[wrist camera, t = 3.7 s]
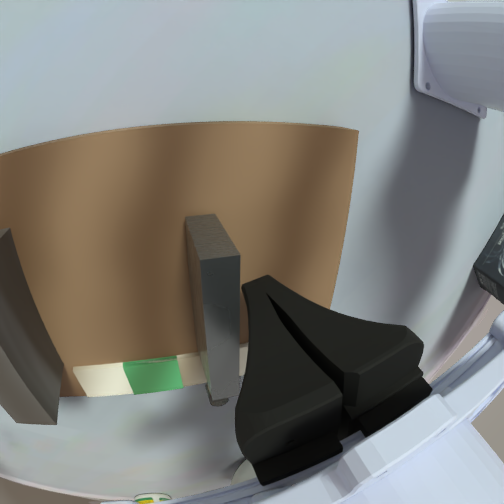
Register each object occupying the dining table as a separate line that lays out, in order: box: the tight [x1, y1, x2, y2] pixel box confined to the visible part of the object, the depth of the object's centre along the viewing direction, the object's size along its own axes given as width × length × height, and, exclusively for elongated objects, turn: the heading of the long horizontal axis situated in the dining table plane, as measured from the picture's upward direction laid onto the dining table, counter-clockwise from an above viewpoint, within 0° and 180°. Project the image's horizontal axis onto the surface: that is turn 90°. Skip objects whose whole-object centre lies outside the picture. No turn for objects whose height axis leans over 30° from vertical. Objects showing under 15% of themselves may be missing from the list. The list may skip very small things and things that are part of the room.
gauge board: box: [0, 121, 359, 425], centre depth 12 cm, size 18×14×6 cm
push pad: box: [185, 214, 241, 406], centre depth 12 cm, size 1×10×4 cm, turn 179°
